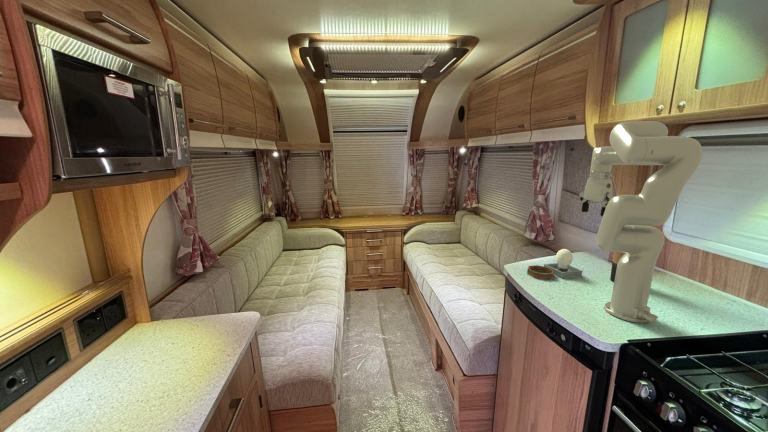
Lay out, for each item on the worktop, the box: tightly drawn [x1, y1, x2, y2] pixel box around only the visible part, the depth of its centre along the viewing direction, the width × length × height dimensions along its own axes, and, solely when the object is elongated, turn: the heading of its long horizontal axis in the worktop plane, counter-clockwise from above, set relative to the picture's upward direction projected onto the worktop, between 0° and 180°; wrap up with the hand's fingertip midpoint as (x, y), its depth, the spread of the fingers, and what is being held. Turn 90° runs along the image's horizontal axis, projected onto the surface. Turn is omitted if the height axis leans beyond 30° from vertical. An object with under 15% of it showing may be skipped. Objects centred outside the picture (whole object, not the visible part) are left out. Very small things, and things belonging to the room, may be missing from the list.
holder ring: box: [526, 264, 554, 280], centre depth 136 cm, size 10×10×2 cm
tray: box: [543, 262, 583, 279], centre depth 139 cm, size 11×11×3 cm
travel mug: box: [609, 252, 625, 283], centre depth 127 cm, size 8×8×20 cm
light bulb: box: [555, 248, 574, 272], centre depth 138 cm, size 7×7×11 cm
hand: (593, 213), depth 134 cm, fingers open, 9 cm apart
